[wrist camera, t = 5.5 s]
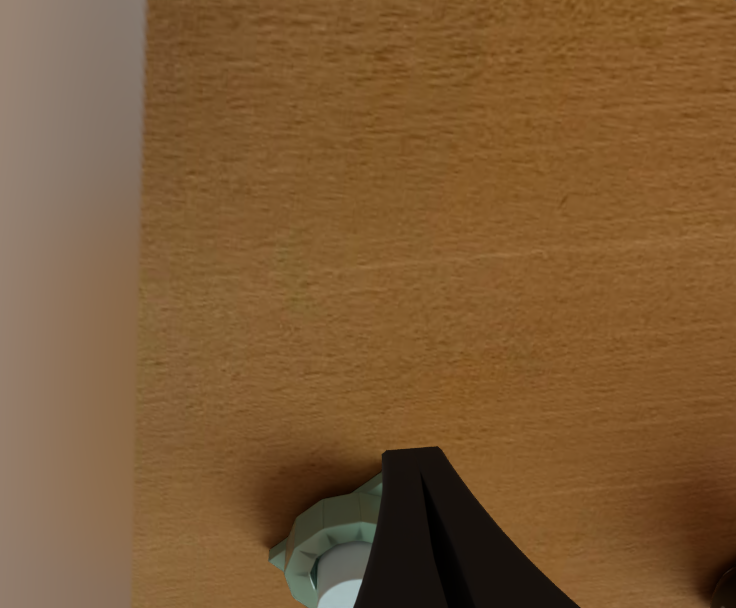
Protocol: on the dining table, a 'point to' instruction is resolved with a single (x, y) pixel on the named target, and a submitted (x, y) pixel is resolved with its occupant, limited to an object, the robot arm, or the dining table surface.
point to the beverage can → (725, 591)
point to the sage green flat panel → (326, 536)
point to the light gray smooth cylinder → (341, 574)
